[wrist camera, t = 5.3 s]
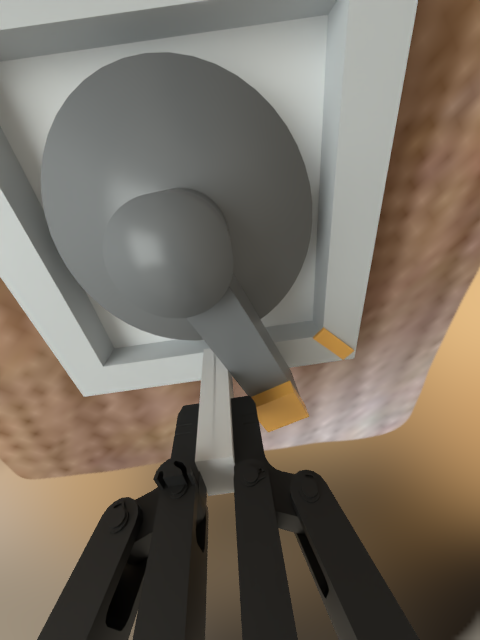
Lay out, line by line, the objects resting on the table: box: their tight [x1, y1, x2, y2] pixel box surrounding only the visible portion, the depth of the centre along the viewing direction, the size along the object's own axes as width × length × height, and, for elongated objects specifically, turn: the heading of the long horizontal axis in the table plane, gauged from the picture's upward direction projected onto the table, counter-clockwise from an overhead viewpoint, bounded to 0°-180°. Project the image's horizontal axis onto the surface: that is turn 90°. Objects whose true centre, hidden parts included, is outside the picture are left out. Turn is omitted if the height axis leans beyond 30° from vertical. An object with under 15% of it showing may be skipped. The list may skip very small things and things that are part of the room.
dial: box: [41, 52, 313, 432], centre depth 12 cm, size 18×13×6 cm
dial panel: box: [0, 0, 418, 397], centre depth 14 cm, size 20×20×4 cm
